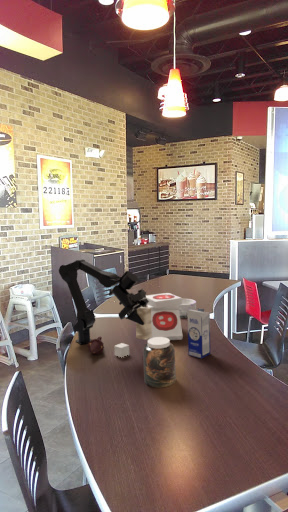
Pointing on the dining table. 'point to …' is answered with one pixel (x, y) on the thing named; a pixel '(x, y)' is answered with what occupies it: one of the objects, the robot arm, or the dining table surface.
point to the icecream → (96, 346)
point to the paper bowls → (186, 306)
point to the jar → (159, 362)
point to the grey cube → (121, 350)
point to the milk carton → (198, 333)
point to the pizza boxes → (165, 316)
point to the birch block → (146, 329)
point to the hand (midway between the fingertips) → (146, 322)
